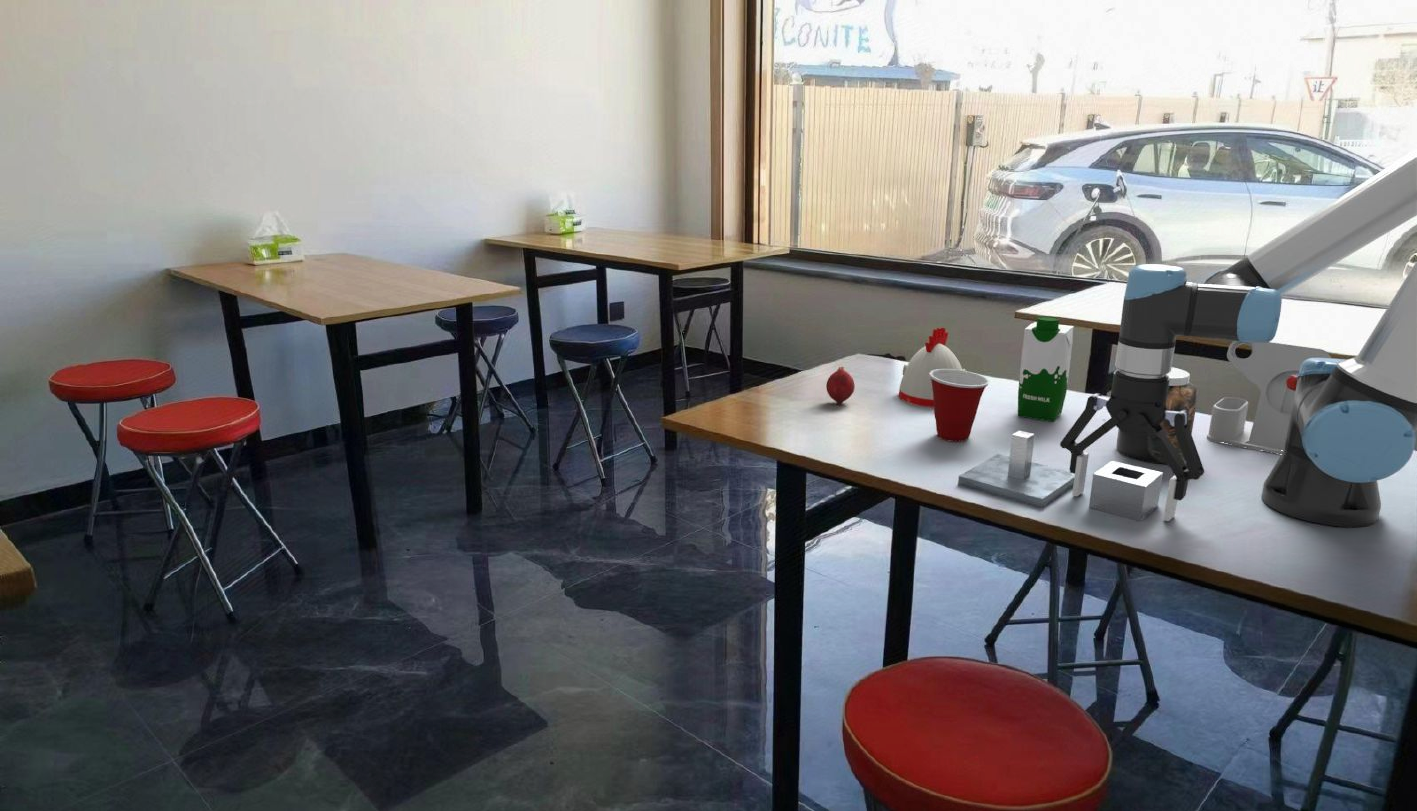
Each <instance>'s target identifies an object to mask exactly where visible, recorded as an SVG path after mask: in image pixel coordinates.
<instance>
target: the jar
mask: <svg viewBox="0 0 1417 811" xmlns="http://www.w3.org/2000/svg"><path fill="white" fill-rule="evenodd" d="M1167 375H1168V376H1169V378H1170V381H1169V387H1168V394H1167V400H1166V408H1167V411H1177V412H1180V411H1182V410H1186V411H1188V413H1189V421H1188V426H1189V429H1190V432H1191V435H1192V434H1193V428H1194V423H1195V415H1196V409H1197V402H1198V401H1197V400H1198V388H1197V386H1196V385H1195V384H1193V383H1192V382H1190V377H1191V375H1190V372H1188V371H1186V370H1184V369H1181V368H1177V367H1174V366H1172V368H1171V372H1169V373H1168V374H1167ZM1161 425H1162V426H1163V428H1164V429H1165V431H1166V435H1167V437H1168V438H1169V440H1170V441H1171V443H1172V444H1173V446H1174V447H1175V449H1176V450H1177V452H1178V453H1179V455H1180V456H1181V458H1182V460H1183V461H1184V462H1185V460H1184V457H1183V454H1182V451H1181V448H1180V445H1179V443H1178V440H1177V437H1176V434H1175V430H1174V426H1172V425H1171V424H1170V421H1169V420H1168V419H1165V420H1164V421H1162V422H1161ZM1192 436H1193V435H1192ZM1116 449H1117V451H1118V452H1119V453H1120V454H1122V455H1124V456H1126V457H1128V458H1131V459H1134V460H1137V461H1140V462H1145V463H1151V464H1158V465H1159V464H1160V465H1161V464H1162V465H1168V464H1167V462H1166V461H1165V459H1164V458H1163V456H1162V455H1161V453H1160V452H1159V450H1158V448H1157V447H1156V445H1155V444H1154V442H1153V441H1151V440H1150V439H1149V437H1148V436H1147V434H1144V435H1142V436H1141V435H1137V434H1134V433H1132V432H1123V431H1120V429H1119V428H1118V430H1117V438H1116Z"/></svg>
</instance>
